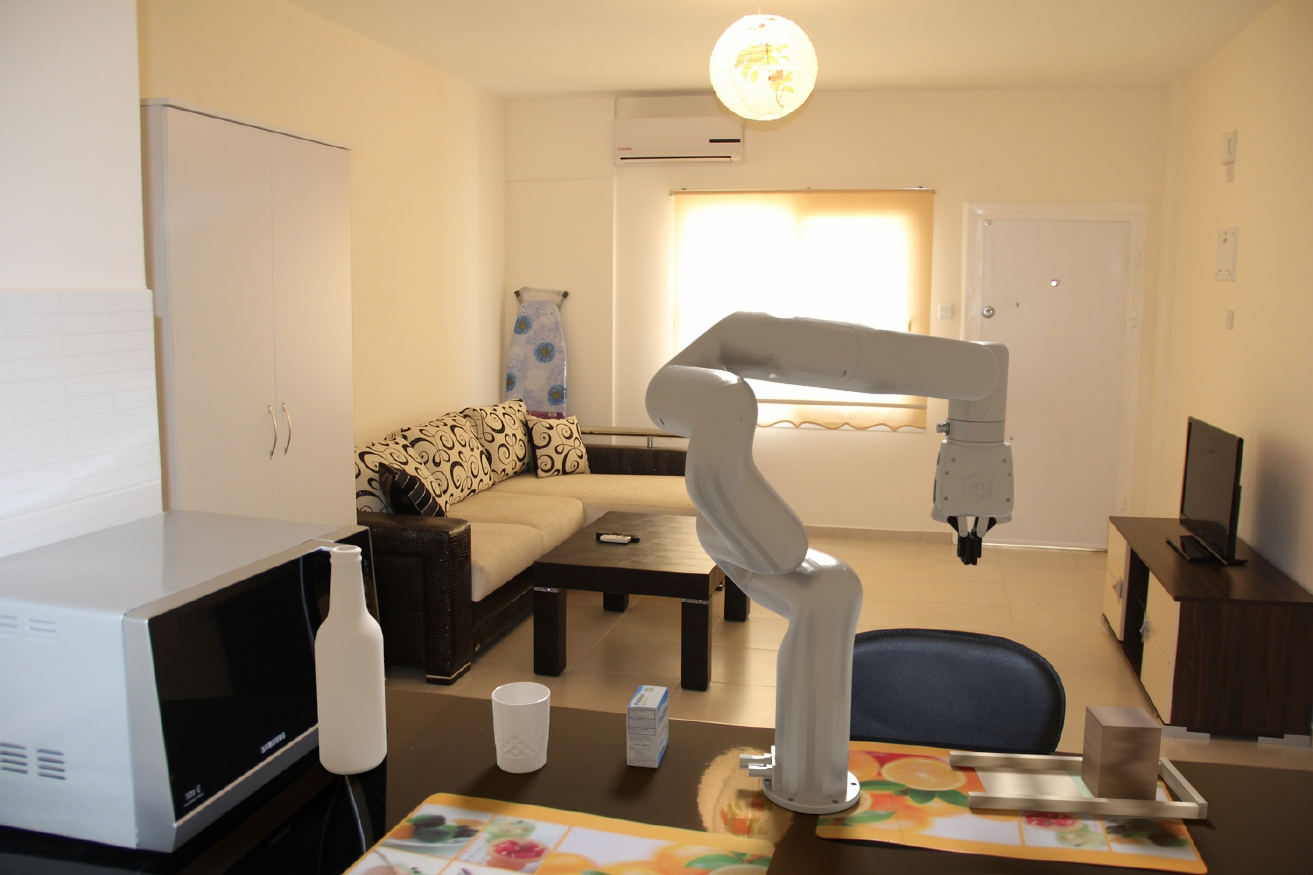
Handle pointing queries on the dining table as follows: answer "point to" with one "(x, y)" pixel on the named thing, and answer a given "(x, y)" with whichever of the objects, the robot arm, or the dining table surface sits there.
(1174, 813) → the channel board
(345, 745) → the alcohol
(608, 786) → the dining table surface
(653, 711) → the medicine box
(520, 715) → the white cup
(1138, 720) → the walnut block
